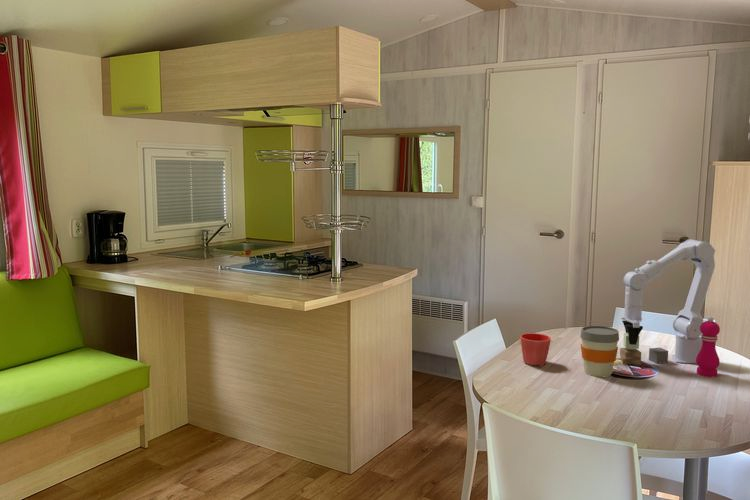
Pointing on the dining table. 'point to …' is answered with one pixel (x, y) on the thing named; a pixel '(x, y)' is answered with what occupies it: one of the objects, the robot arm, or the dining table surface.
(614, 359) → the reusable coffee cup
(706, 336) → the pepper mill
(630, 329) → the robot arm
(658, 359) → the charcoal block
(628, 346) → the green cube
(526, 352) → the flower pot
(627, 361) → the base slab
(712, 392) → the dining table surface
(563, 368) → the dining table surface
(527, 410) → the dining table surface
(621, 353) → the top slab
